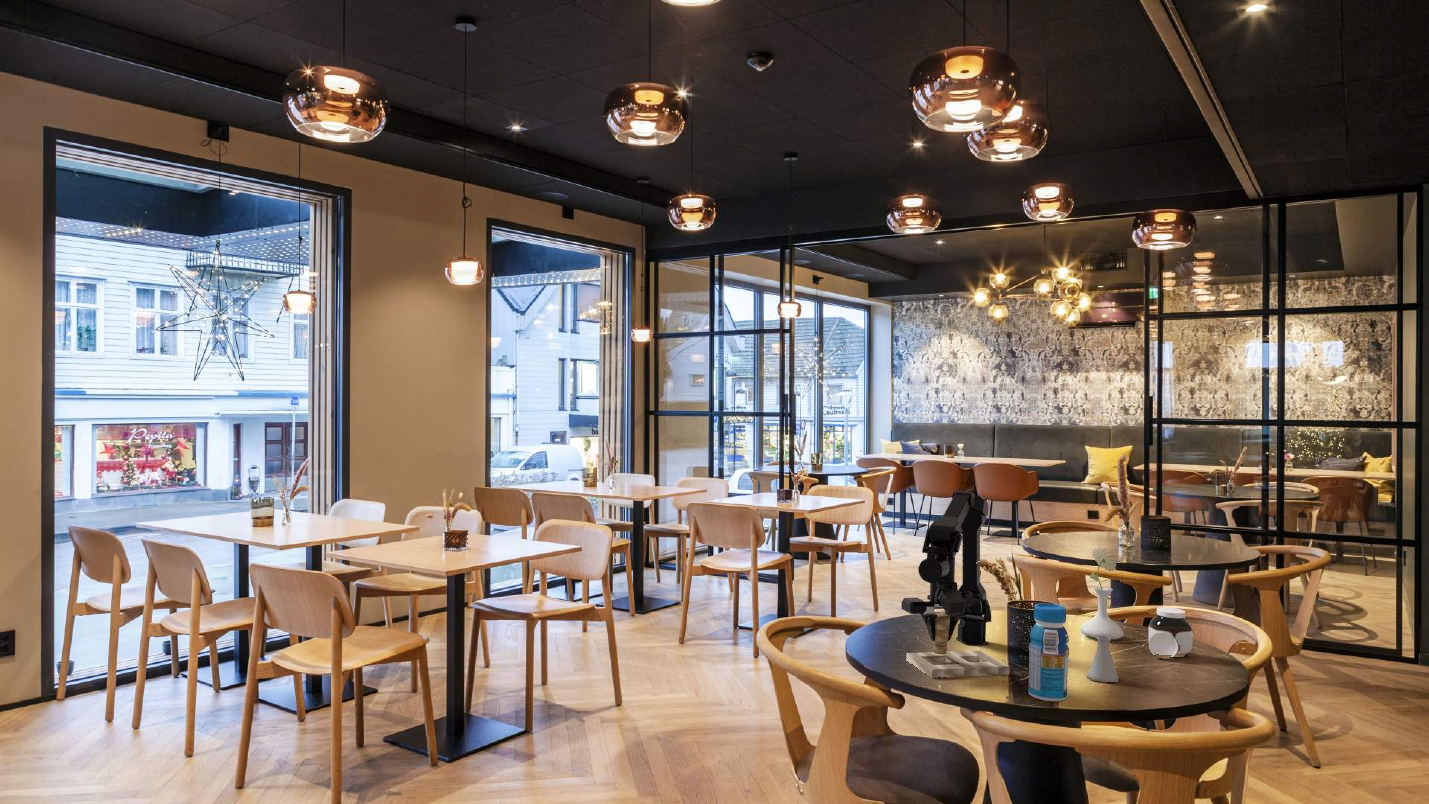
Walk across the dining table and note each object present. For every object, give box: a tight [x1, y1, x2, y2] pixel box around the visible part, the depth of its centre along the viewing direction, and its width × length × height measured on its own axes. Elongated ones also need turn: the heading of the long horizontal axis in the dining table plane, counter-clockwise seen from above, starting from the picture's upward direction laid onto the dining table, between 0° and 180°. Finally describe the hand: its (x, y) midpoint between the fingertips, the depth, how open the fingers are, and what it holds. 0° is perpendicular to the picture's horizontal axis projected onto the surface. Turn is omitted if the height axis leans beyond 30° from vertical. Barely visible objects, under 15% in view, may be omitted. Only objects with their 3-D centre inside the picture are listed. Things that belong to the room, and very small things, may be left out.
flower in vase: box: [1079, 546, 1125, 640], centre depth 261 cm, size 13×11×25 cm
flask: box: [1086, 636, 1120, 684], centre depth 220 cm, size 7×7×10 cm
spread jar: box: [1147, 606, 1194, 657], centre depth 243 cm, size 12×11×12 cm
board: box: [906, 650, 1010, 679], centre depth 226 cm, size 20×14×2 cm
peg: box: [933, 613, 950, 655], centre depth 225 cm, size 4×4×9 cm
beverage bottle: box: [1027, 602, 1070, 702], centre depth 206 cm, size 8×8×20 cm
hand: (940, 640), depth 225 cm, fingers closed on peg, 4 cm apart
